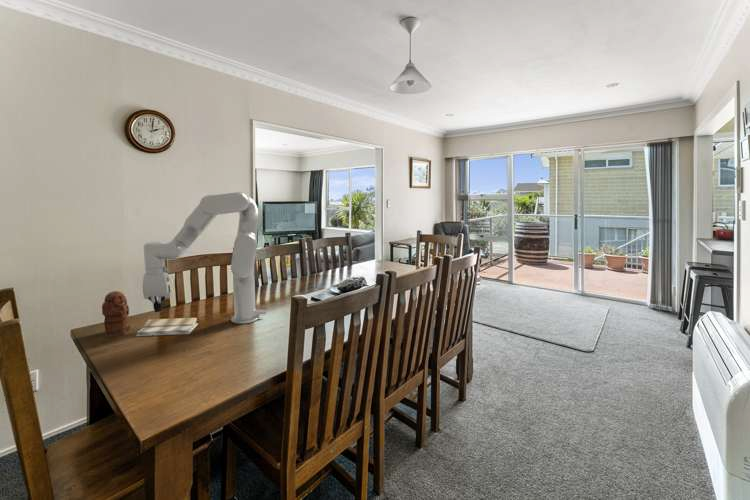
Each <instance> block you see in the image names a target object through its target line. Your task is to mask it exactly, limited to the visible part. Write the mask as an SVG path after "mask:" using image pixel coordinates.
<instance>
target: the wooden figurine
mask: <svg viewBox="0 0 750 500" xmlns="http://www.w3.org/2000/svg"><path fill="white" fill-rule="evenodd" d="M129 307H130V306H129V305H128V302H127V297H126V296H125V294H124V293H123V292H121V291H117V290H115V291H111V292H109V293H107V294H106V296H105V297H104V302H103V303H102V305H101V311H102V315H103V316H104V320H103V321H104V331H105V334H106V337H107V338H113V337H118V336H121V335H124V334H126V333H127V332H128V331H129V330H130V328H131V324H130V323H131V322H130V319H129V314H130V309H129Z"/></svg>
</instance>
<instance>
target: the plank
mask: <svg viewBox="0 0 750 500" xmlns="http://www.w3.org/2000/svg"><path fill="white" fill-rule="evenodd" d="M197 321H198V320H197V317H181V318H180V317H179V318H177V317H176V318H159V319H158V318H157V319H156V318H153V319H148V320H147V321H146V323H145V324H144V326H143V327H163V326H187V325H192V327H194V325H195V323H197Z"/></svg>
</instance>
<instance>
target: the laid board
mask: <svg viewBox="0 0 750 500" xmlns="http://www.w3.org/2000/svg"><path fill="white" fill-rule="evenodd" d="M192 328H193V327H192V325H187V326H163V327H144V326H143V327H141V328H140V329H139V330H138V331H137V332H136V335H153V336H156V335H155V334H175V335H178V334H177V333H189V332H190V331H191V329H192ZM191 332H192V331H191Z"/></svg>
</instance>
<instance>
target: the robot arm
mask: <svg viewBox="0 0 750 500" xmlns="http://www.w3.org/2000/svg"><path fill="white" fill-rule="evenodd" d="M234 213H238V214H239V216H238V217H239V219H238V227H237V234H236V236H235V238H234V239H235V240H234V241H233V250H232V256H231V262H230V263H231V264H230V270H231V273H232V286H233V287H232V288H233V289H232V290H233V310H234V311H233V313H234V315H233V316H232V317H230V318H231V319H230V320H231V322H232V323H234V324H239V325H240V324H249V323H251V324H252V323H253V322H257V321H258V320H260V315H266V314H267V311H266V309H257V308H256V291H255V290H256V284H255V263H256V255H257V248H258V240H257V239H258V229H259V223H260V222H259V220H260V213H259V208H258V205H257V203H256V202H255V201H254V200H253V199H252V198H251V196H249V195H248V194H246V193H244V192H241V191H236V192H226V193H220V194H209V195H205V196H203V197H202V198H201V199H200V201H199V204H198V205H197V206H196V208H195V209H194V210H193V211H192V212H191V213H190V214H189V216H188V217H186V219H185V221H184V224H183V226H182V228H181V229H180V230H179V232H178V233H177V234H176V236H174V237H173V238H172V240H171V241H170V242H167V243H163V242H160V241H155V242H154V241H150V242H146V243H144V245H143V256H144V271H145V273H144V274H143V277H142V279H143V280H142V295H143V299H144V300H148V301H150V302H151V303H152V304H153V305H152V306H153V310H154V313H160V312H161V311H162V310H163V302H164V301H165V300H167V299H170V298H171V297H172V295H171V294H172V286H171V285H172V284H171V281H170V279H171V278H170V276H169V273H168V272H169V270H170V269H169V267H167V266H166V260H168V261H174V260H178V259H180V258H181V257H182V256H183V255H184V254H185V253H186V251H187V250H188V249H189V248H190V247H191V246H192V245H193V243H194V242H195V241H196V240H197V239H198V238H199V236H200V235H202V234H203V232H204V231H206V229H207V228H208V226H210V224H211V223H213V221H214V219H215V218H216V217H217V216H218V215H225V214H226V215H227V214H234Z"/></svg>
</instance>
